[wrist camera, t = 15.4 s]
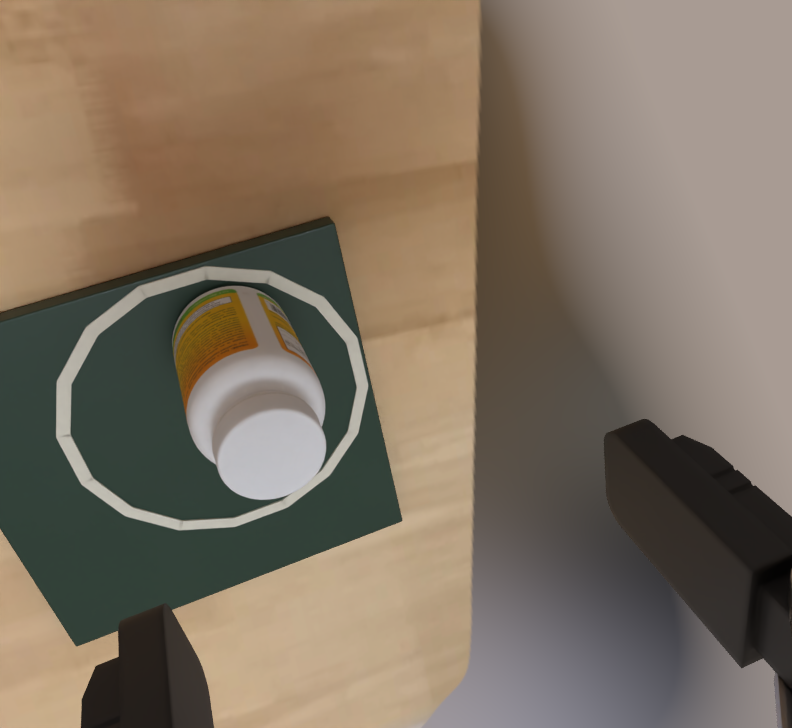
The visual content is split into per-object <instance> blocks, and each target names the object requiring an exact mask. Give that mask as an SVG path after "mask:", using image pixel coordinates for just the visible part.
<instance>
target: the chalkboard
mask: <svg viewBox="0 0 792 728" xmlns="http://www.w3.org/2000/svg"><path fill="white" fill-rule="evenodd" d="M226 286H244V287H250V288H253V289H256V290H259V291H261V292H263V293H265V294H266V295H268V296H269V297H271V298H272V299H273V300H274V301H275V302H276V303H277V304H278V305H279V306H280V307H281V308H282V310H283V312H284V313H285V315H286V316H287V318H288V320H289V322H290V324H291V326H292V328H293V330H294V332H295V334H296V336H297V338H298V340H299V342H300V344H301V345H302V348H303V350H304V352H305V354H306V356H307V358H308V359H309V361H310V363H311V365H312V367H313V369H314V371H315V373H316V375H317V377H318V379H319V381H320V384H321V387H322V389H323V393H324V398H325V417H324V421H323V425H322V430H323V432H324V435H325V439H326V454H325V458H324V461H323V463H322V466H321V468H320V469H319V471H318V473H317V474H316V475H315V476H314V477H313V479H312V480H311V481H310V482H308V483H307V484H306V485H305V486H303V487H302V488H301V489H299V490H297V491H295V492H293V493H291V494H289V495H286V496H284V497H280V498H276V499H269V500H258V499H250V498H247V497H244V496H241V495H239V494H237V493H235V492H234V491H232V490H231V489H230V488H229V487H228V486H227V485H226V484H225V483H224V482H223V480H222V479H221V477H220V475H219V472H218V469H217V466H216V464H214V463H213V462H211V461H210V460H209V459H207V458H206V457H205V456H204V455H203V454H202V453H201V452H200V450H199V449H198V448H197V446H196V445H195V443H194V441H193V439H192V436H191V434H190V431H189V427H188V424H187V419H186V414H185V409H184V404H183V399H182V394H181V389H180V384H179V379H178V375H177V370H176V366H175V361H174V356H173V348H172V337H173V331H174V328H175V325H176V322H177V320H178V318H179V316H180V315H181V313H182V312H183V310H184V309H185V308H186V307H187V305H188V304H189V303H191V302H192V301H193V300H194V299H196V298H197V297H199V296H200V295H202V294H204V293H206V292H208V291H211V290H213V289H216V288H220V287H226ZM401 521H402V517H401V512H400V508H399V504H398V499H397V495H396V490H395V486H394V482H393V477H392V473H391V468H390V464H389V460H388V455H387V451H386V446H385V442H384V438H383V433H382V429H381V425H380V420H379V416H378V411H377V407H376V403H375V398H374V394H373V389H372V385H371V381H370V376H369V372H368V367H367V363H366V359H365V354H364V350H363V345H362V341H361V337H360V332H359V328H358V323H357V319H356V315H355V310H354V306H353V301H352V297H351V293H350V288H349V284H348V279H347V275H346V271H345V266H344V262H343V257H342V253H341V249H340V244H339V240H338V236H337V231H336V227H335V224H334V222H333V221H332V220H331V219H330V217H326V218H323V219H319V220H316V221H313V222H309V223H306V224H302V225H299V226H296V227H292V228H289V229H285V230H282V231H279V232H275V233H272V234H268V235H265V236H262V237H258V238H255V239H251V240H248V241H245V242H241V243H238V244H234V245H231V246H228V247H224V248H221V249H217V250H214V251H211V252H207V253H204V254H200V255H197V256H194V257H190V258H187V259H183V260H180V261H177V262H173V263H170V264H166V265H163V266H160V267H156V268H153V269H149V270H146V271H143V272H139V273H136V274H132V275H129V276H126V277H122V278H119V279H115V280H112V281H109V282H105V283H102V284H98V285H95V286H92V287H88V288H85V289H81V290H78V291H75V292H71V293H68V294H64V295H61V296H58V297H54V298H51V299H47V300H44V301H41V302H37V303H34V304H30V305H27V306H24V307H20V308H17V309H13V310H10V311H7V312H3V313H0V529H1V531H2V532H3V534H4V535H5V537H6V538H7V540H8V541H9V543H10V545H11V546H12V548H13V549H14V551H15V552H16V554H17V555H18V557H19V558H20V560H21V562H22V563H23V565H24V566H25V568H26V569H27V571H28V572H29V574H30V576H31V577H32V579H33V580H34V582H35V583H36V585H37V586H38V588H39V590H40V591H41V593H42V594H43V596H44V597H45V599H46V600H47V602H48V604H49V605H50V607H51V608H52V610H53V611H54V613H55V614H56V616H57V617H58V619H59V621H60V622H61V624H62V625H63V627H64V628H65V630H66V631H67V633H68V635H69V636H70V638H71V639H72V641H73V642H74V644H75V645H76V646H79V645H82V644H85V643H87V642H90V641H92V640H95V639H98V638H100V637H103V636H105V635H108V634H111V633H113V632H116V631H118V627H119V622H120V621H121V620H123V619H125V618H128V617H131V616H133V615H136V614H138V613H141V612H143V611H146V610H149V609H151V608H154V607H156V606H159V605H162V604H164V603H166V604H168V605H169V607H170V608H171V610H173V609H175V608H178V607H181V606H183V605H186V604H188V603H191V602H194V601H196V600H199V599H201V598H204V597H207V596H209V595H212V594H214V593H217V592H220V591H222V590H225V589H227V588H230V587H233V586H235V585H238V584H240V583H243V582H246V581H248V580H251V579H253V578H256V577H259V576H261V575H264V574H266V573H269V572H272V571H274V570H277V569H279V568H282V567H285V566H287V565H290V564H292V563H295V562H297V561H300V560H303V559H305V558H308V557H310V556H313V555H316V554H318V553H321V552H323V551H326V550H329V549H331V548H334V547H336V546H339V545H342V544H344V543H347V542H349V541H352V540H355V539H357V538H360V537H362V536H365V535H368V534H370V533H373V532H375V531H378V530H381V529H383V528H386V527H388V526H391V525H394V524H396V523H399V522H401Z"/></svg>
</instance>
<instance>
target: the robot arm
mask: <svg viewBox="0 0 792 728" xmlns="http://www.w3.org/2000/svg"><path fill="white" fill-rule="evenodd" d="M604 456H605V475H606V476H605V478H606V495H607V500H608V504H609V506H610V509H611V511H612V513H613V515H614V517H615V519H616V521H617V522H618V523H619V525H620V526H621V528H622V529H623V530H624V531H625V532H626V533H627V534H628V536H629V537H630V538H631V539H632V540H633V541H634V543H635V544H636V545H637V546H638V547H639V549H640V550H641V551H642V552H643V553H644V555H645V556H646V557H647V558H648V559H649V560H650V562H651V563H652V564H653V565H654V566H655V567H656V569H657V570H658V571H659V572H660V573H661V574H662V576H663V577H664V578H665V579H666V580H667V581H668V583H669V584H670V585H671V586H672V587H673V588H674V590H675V591H676V592H677V593H678V594H679V596H680V597H681V598H682V599H683V600H684V601H685V603H686V604H687V605H688V606H689V607H690V608H691V610H692V611H693V612H694V613H695V614H696V615H697V617H698V618H699V619H700V620H701V621H702V622H703V624H704V625H705V626H706V627H707V628H708V630H709V631H710V632H711V633H712V634H713V635H714V637H715V638H716V639H717V640H718V641H719V642H720V644H721V645H722V646H723V647H724V648H725V649H726V651H727V652H728V653H729V654H730V655H731V656H732V658H733V659H734V660H735V661H736V662H737V664H738V665H739V666H740V667H741V668H743V667H745V666H747V665H749V664H752V663H754V662H756V661H758V660H760V659H762V658H764V660H766V662H767V663H768V664H769V665H770V666H771V667H772V668H773V670H774V671H775V676H774V686H775V699H776V713H777V726H778V728H792V517H791V516H790V515H789V514H788V513H787V512H785V511H784V510H783V509H782V508H781V507H780V506H778V505H777V504H776V503H775V502H774V501H773V500H771V499H770V498H769V497H768V496H767V495H766V494H764V493H763V492H762V491H761V490H760V489H759V488H758V487H757V486H753V485H752V484H751V481H750V480H748V479H747V478H746V477H745V476H744V475H743V474H742V473H740V472H739V471H738V470H736V471H735V470H734V468H733V466H732V465H731V464H730V463H729V462H728V461H726V460H725V459H724V458H723V457H722V456H721V455H720V454H719V453H717V452H716V451H715V450H714V449H713V448H711V447H709V446H707V445H705V444H702V443H700V442H698V441H695V440H693V439H691V438H688V437H686V436H684V435H681V436H679V437H676V438H674V439H670V438H669V437H668V436H667V435H666V434H665V433H664V432H662V431H661V430H660V429H659V428H658V427H657V426H656V425H655V424H654V423H652V422H651V421H649V420H647V419H642V420H639V421H637V422H634V423H632V424H629V425H626V426H624V427H621V428H619V429H616V430H614V431H611V432H608V433H607V434H606V435H605V437H604ZM118 641H119V657H117V658H115V659H112V660H110V661H107V662H105V663H102V664H100V665H97V666H96V667H95V669H94V672H93V674H92V676H91V679H90V681H89V684H88V686H87V688H86V691H85V693H84V695H83V698H82V713H81V728H214V725H213V718H212V710H211V703H210V696H209V690H208V686H207V682H206V678H205V675H204V671H203V669H202V666H201V663H200V661H199V659H198V657H197V655H196V653H195V651H194V649H193V648H192V646H191V644H190V642H189V640H188V639H187V637H186V635H185V633H184V631H183V630H182V628H181V626H180V624H179V622H178V621H177V619H176V617H175V615H174V613H173V612H172V610H171V608H170V607H169V605H168V604H166V603H164V604H162V605H159V606H156V607H154V608H151V609H149V610H146V611H143V612H141V613H138V614H136V615H133V616H131V617H128V618H125V619H123V620H121V621H120V622H119V627H118Z"/></svg>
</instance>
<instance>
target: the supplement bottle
mask: <svg viewBox="0 0 792 728" xmlns="http://www.w3.org/2000/svg"><path fill="white" fill-rule="evenodd" d="M172 348H173V356H174V361H175V366H176V370H177V375H178V379H179V384H180V389H181V394H182V399H183V404H184V409H185V414H186V419H187V424H188V427H189V431H190V434H191V436H192V439H193V441H194V443H195V445H196V446H197V448H198V449H199V450H200V452H201V453H202V454H203V455H204V456H205V457H206V458H207V459H209V460H210V461H211V462H213V463H214V464H216V466H217V469H218V472H219V475H220V477H221V479H222V480H223V482H224V483H225V484H226V485H227V486H228V487H229V488H230V489H231V490H232V491H234V492H235V493H237V494H239V495H241V496H244V497H247V498H250V499H258V500H269V499H276V498H280V497H284V496H286V495H289V494H291V493H293V492H295V491H297V490H299V489H301V488H302V487H303V486H305V485H306V484H307V483H308V482H310V481H311V480H312V479H313V477H314V476H315V475H316V474H317V473H318V471H319V469H320V468H321V466H322V463H323V461H324V458H325V454H326V439H325V435H324V432H323V430H322V425H323V421H324V417H325V398H324V393H323V389H322V387H321V384H320V381H319V379H318V377H317V375H316V373H315V371H314V369H313V367H312V365H311V363H310V361H309V359H308V358H307V356H306V354H305V352H304V350H303V348H302V345H301V344H300V342H299V340H298V338H297V336H296V334H295V332H294V330H293V328H292V326H291V324H290V322H289V320H288V318H287V316H286V315H285V313H284V312H283V310H282V308H281V307H280V306H279V305H278V304H277V303H276V302H275V301H274V300H273V299H272V298H271V297H269V296H268V295H266V294H265V293H263V292H261V291H259V290H256V289H253V288H250V287H244V286H226V287H220V288H216V289H213V290H211V291H208V292H206V293H204V294H202V295H200V296H199V297H197V298H196V299H194V300H193V301H192V302H191V303H189V304H188V305H187V307H186V308H185V309H184V310H183V312H182V313H181V315H180V316H179V318H178V320H177V322H176V325H175V328H174V331H173V337H172Z"/></svg>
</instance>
